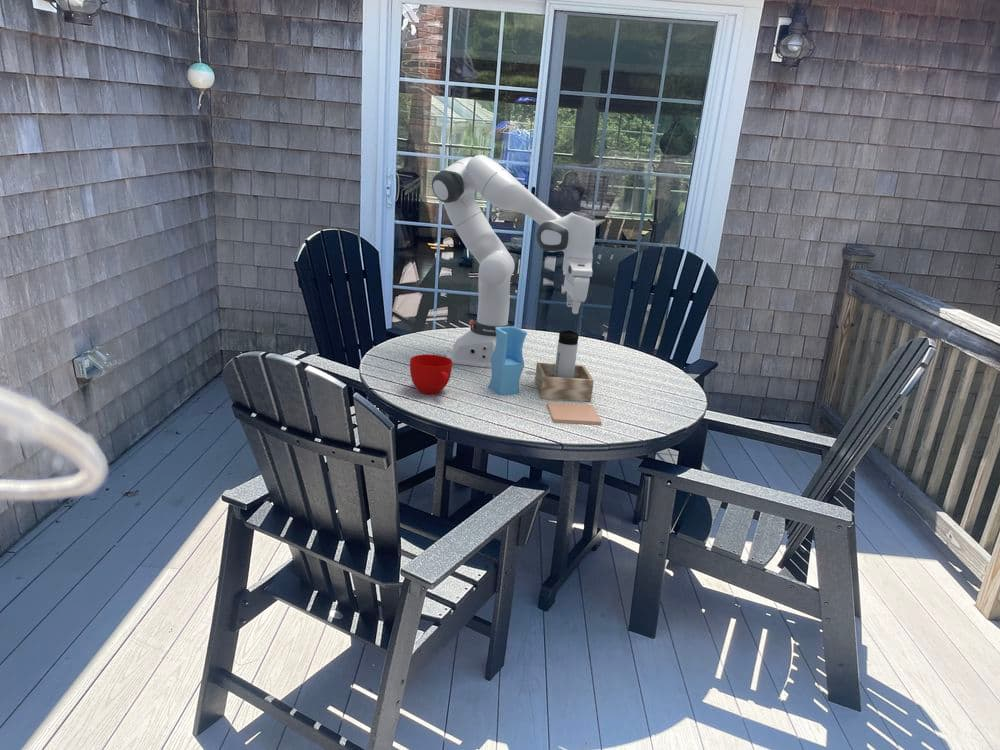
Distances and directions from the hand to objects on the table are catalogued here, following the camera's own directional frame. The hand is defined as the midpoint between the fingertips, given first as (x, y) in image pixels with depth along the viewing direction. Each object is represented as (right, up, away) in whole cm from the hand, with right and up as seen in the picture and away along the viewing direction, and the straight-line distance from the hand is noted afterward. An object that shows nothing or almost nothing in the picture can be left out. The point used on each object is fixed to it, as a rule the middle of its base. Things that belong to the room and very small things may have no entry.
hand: (572, 309), depth 227 cm
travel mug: (-3, -26, +8) cm, 27 cm away
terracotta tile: (-1, -32, -12) cm, 34 cm away
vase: (-21, -25, +4) cm, 33 cm away
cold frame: (-3, -26, +8) cm, 27 cm away
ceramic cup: (-44, -26, -5) cm, 51 cm away
